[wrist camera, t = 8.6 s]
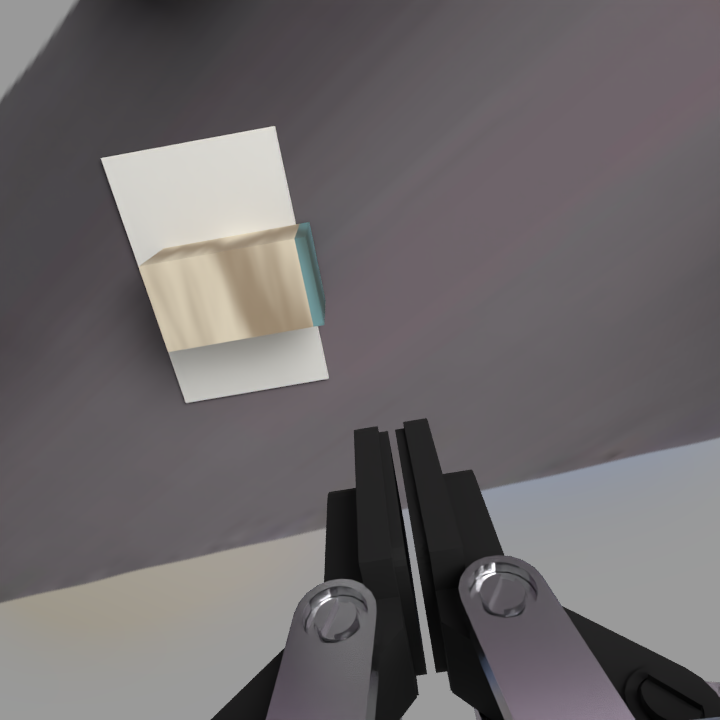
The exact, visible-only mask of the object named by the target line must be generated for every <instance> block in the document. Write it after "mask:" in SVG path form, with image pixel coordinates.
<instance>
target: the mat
mask: <svg viewBox="0 0 720 720" xmlns="http://www.w3.org/2000/svg"><path fill="white" fill-rule="evenodd" d="M101 160H102V163H103V166H104V169H105V172H106V175H107V178H108V180H109V183H110V186H111V189H112V192H113V195H114V198H115V201H116V203H117V206H118V209H119V212H120V215H121V218H122V221H123V224H124V226H125V229H126V232H127V235H128V238H129V241H130V244H131V247H132V249H133V252H134V255H135V258H136V261H137V264H138V267H139V266H140V265H141V264H143V263H144V262H146V261H147V260H148V259H150V258H151V257H152V256H154V255H155V254H157V253H158V252H159V251H161V250H162V249H163V248H168V247H174V246H180V245H185V244H191V243H196V242H202V241H207V240H213V239H218V238H224V237H230V236H235V235H241V234H246V233H252V232H257V231H263V230H268V229H274V228H280V227H285V226H291V225H296V222H295V217H294V212H293V208H292V203H291V199H290V194H289V189H288V185H287V180H286V175H285V171H284V166H283V161H282V157H281V152H280V147H279V143H278V138H277V133H276V129H275V126H272V127H267V128H262V129H256V130H251V131H245V132H240V133H235V134H229V135H224V136H218V137H213V138H208V139H202V140H197V141H191V142H186V143H181V144H175V145H170V146H165V147H159V148H154V149H148V150H143V151H138V152H132V153H127V154H121V155H116V156H111V157H105V158H101ZM168 353H169V356H170V359H171V362H172V365H173V367H174V370H175V373H176V376H177V379H178V382H179V385H180V388H181V390H182V393H183V396H184V399H185V402H186V403H189V402H195V401H201V400H207V399H213V398H218V397H224V396H230V395H236V394H242V393H248V392H254V391H259V390H265V389H271V388H277V387H283V386H289V385H295V384H300V383H306V382H312V381H318V380H324V379H329V375H328V371H327V366H326V361H325V357H324V352H323V347H322V343H321V338H320V334H319V329H318V326H315V327H309V328H304V329H298V330H292V331H286V332H281V333H275V334H269V335H264V336H258V337H252V338H246V339H241V340H235V341H229V342H223V343H218V344H212V345H206V346H200V347H195V348H189V349H183V350H177V351H172V352H168Z"/></svg>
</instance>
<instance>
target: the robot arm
mask: <svg viewBox="0 0 720 720" xmlns="http://www.w3.org/2000/svg"><path fill="white" fill-rule="evenodd" d="M403 424H404V428H403V429H397V430H395V432H396V438H397V444H398V450H399V456H400V462H401V468H402V473H403V479H404V485H405V491H406V497H407V503H408V509H409V515H410V521H411V527H412V533H413V539H414V544H415V551H416V557H417V563H418V568H419V574H420V580H421V586H422V592H423V598H424V604H425V610H426V615H427V621H428V627H429V633H430V639H431V645H432V651H433V657H434V662H435V669H436V673H438V672H445V671H447V672H448V677H449V682H450V688H451V690H452V692H453V693H454V694H455V695H457V696H458V697H460V698H461V699H462V700H464V701H465V702H467V703H468V704H470V705H471V706H472V707H474V710H475V715H476V719H477V720H720V683H719V682H706V681H704V680H703V679H702V678H701V677H699V676H697V675H696V674H694V673H693V672H691V671H689V670H688V669H686V668H685V667H683V666H681V665H679V664H677V663H675V662H673V661H671V660H669V659H667V658H665V657H663V656H661V655H659V654H657V653H655V652H653V651H651V650H649V649H647V648H645V647H643V646H640V645H639V644H637V643H635V642H633V641H631V640H629V639H627V638H625V637H623V636H621V635H619V634H617V633H615V632H613V631H611V630H609V629H607V628H605V627H603V626H601V625H599V624H597V623H595V622H593V621H591V620H589V619H587V618H585V617H583V616H581V615H579V614H577V613H575V612H573V611H571V610H569V609H567V608H565V607H563V606H561V604H560V602H559V601H558V599H557V598H556V596H555V595H554V593H553V592H552V590H551V589H550V587H549V586H548V584H547V582H546V581H545V579H544V578H543V576H542V575H541V574H540V573H539V572H538V571H537V570H536V569H535V567H533V566H531V565H530V564H528V563H527V562H525V561H523V560H521V559H518V558H514V557H512V556H504V553H503V551H502V548H501V545H500V543H499V540H498V537H497V534H496V532H495V529H494V527H493V524H492V521H491V518H490V516H489V513H488V510H487V507H486V505H485V502H484V500H483V497H482V494H481V491H480V489H479V486H478V483H477V480H476V478H475V475H474V473H473V471H472V470H466V471H460V472H454V473H447V474H442V470H441V467H440V463H439V460H438V456H437V453H436V449H435V446H434V442H433V438H432V435H431V431H430V428H429V424H428V421H427V418H425V419H419V420H413V421H407V422H403ZM354 445H355V474H356V488H353V489H346V490H340V491H334V492H329V493H328V501H327V525H326V550H325V575H324V583H322V584H320V585H317V586H316V587H315V588H313V589H312V590H310V591H309V592H308V593H307V594H306V595H305V596H304V597H303V598H302V600H301V601H300V602H299V604H298V606H297V608H296V611H295V613H294V616H293V619H292V624H291V627H290V631H289V635H288V638H287V642H286V646H285V648H284V649H283V650H282V651H281V652H280V653H279V654H278V655H277V656H276V657H275V658H274V659H273V660H272V661H271V662H270V663H269V664H268V665H267V666H266V667H265V668H264V669H263V670H261V671H260V672H259V674H257V675H256V676H255V677H254V678H253V679H252V680H251V681H250V682H249V683H248V684H247V685H246V686H245V687H244V688H243V689H242V690H241V691H240V692H239V693H238V694H237V695H236V696H235V697H234V698H233V699H232V700H231V701H230V702H229V703H227V704H226V705H225V706H224V708H222V709H221V710H220V711H219V712H218V713H217V714H216V715H215V716H214V717H213V718H212V719H211V720H402V716H403V715H404V713H405V712H406V711H407V709H408V708H409V707H410V706H411V704H412V703H413V702H414V700H415V699H416V698H417V695H419V694H418V686H417V679H416V676H417V675H424V674H427V671H426V664H425V658H424V651H423V645H422V638H421V632H420V624H419V618H418V611H417V605H416V598H415V591H414V585H413V578H412V572H411V565H410V558H409V552H408V545H407V539H406V532H405V526H404V520H403V516H402V509H401V503H400V498H399V492H398V486H397V481H396V475H395V470H394V464H393V458H392V453H391V447H390V441H389V436H388V431H385V432H379V431H378V427H377V426H376V427H370V428H364V429H358V430H354Z"/></svg>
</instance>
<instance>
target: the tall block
mask: <svg viewBox="0 0 720 720" xmlns="http://www.w3.org/2000/svg"><path fill="white" fill-rule="evenodd" d="M139 270H140V273H141V275H142V278H143V281H144V284H145V287H146V290H147V293H148V296H149V298H150V301H151V304H152V307H153V310H154V313H155V316H156V319H157V321H158V324H159V327H160V330H161V333H162V336H163V339H164V342H165V344H166V347H167V350H168V352H172V351H177V350H183V349H189V348H195V347H200V346H206V345H212V344H218V343H223V342H229V341H235V340H241V339H246V338H252V337H258V336H264V335H269V334H275V333H281V332H286V331H292V330H298V329H304V328H309V327H315V326H321V325H324V317H325V296H324V291H323V286H322V282H321V277H320V272H319V267H318V262H317V257H316V252H315V247H314V242H313V238H312V233H311V228H310V223H309V222H307V223H302V224H296V225H291V226H285V227H280V228H274V229H268V230H263V231H257V232H252V233H246V234H241V235H235V236H230V237H224V238H218V239H213V240H207V241H202V242H196V243H191V244H185V245H180V246H174V247H168V248H163V249H162V250H161V251H159V252H158V253H157V254H155V255H154V256H152V257H151V258H150V259H148V260H147V261H146V262H144V263H143V264H141V265H140V266H139Z"/></svg>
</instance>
